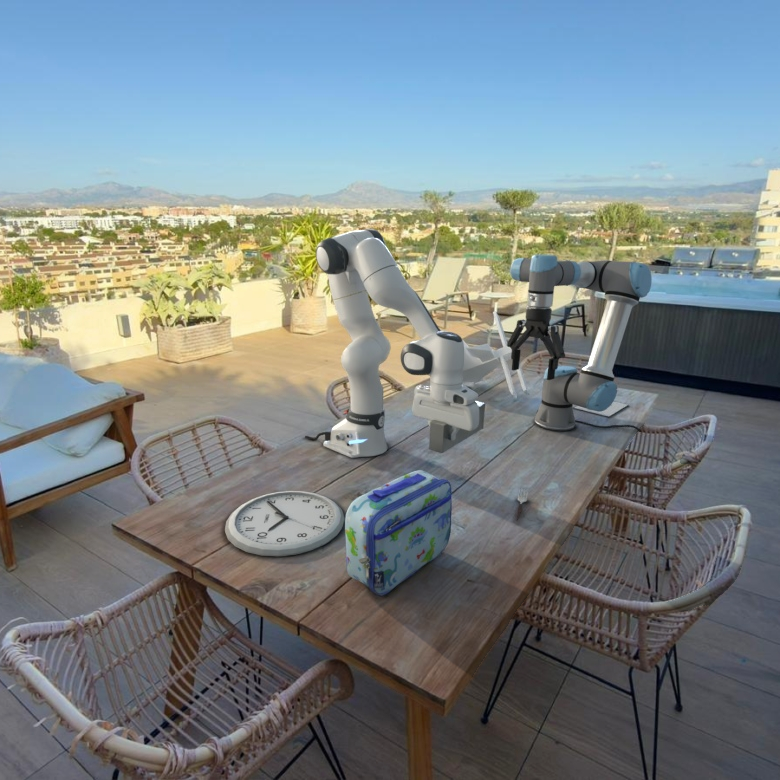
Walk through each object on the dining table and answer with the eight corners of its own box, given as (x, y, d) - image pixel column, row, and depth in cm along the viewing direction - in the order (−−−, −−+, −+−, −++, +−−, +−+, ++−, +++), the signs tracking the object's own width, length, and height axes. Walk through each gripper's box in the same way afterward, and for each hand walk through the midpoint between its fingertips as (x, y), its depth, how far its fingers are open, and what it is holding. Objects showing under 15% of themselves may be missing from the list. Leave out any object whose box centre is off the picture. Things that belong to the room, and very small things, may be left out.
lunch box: (373, 608, 104) (374, 515, 98) (339, 582, 112) (337, 495, 105) (455, 554, 122) (460, 473, 116) (421, 535, 129) (424, 458, 123)
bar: (470, 425, 167) (472, 400, 164) (483, 428, 164) (485, 403, 162) (428, 449, 148) (430, 421, 146) (442, 453, 146) (443, 425, 143)
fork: (511, 521, 136) (512, 514, 136) (519, 493, 150) (519, 487, 150) (521, 523, 135) (522, 516, 135) (528, 495, 150) (528, 489, 149)
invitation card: (608, 416, 214) (573, 407, 224) (608, 416, 214) (573, 408, 224) (628, 404, 229) (594, 396, 238) (628, 405, 229) (594, 397, 238)
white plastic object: (461, 429, 252) (437, 405, 227) (444, 352, 274) (420, 323, 250) (535, 404, 240) (518, 377, 215) (510, 326, 262) (492, 293, 237)
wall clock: (344, 547, 121) (211, 552, 118) (344, 554, 121) (212, 558, 119) (344, 486, 149) (237, 489, 147) (344, 491, 150) (237, 494, 147)
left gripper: (408, 385, 148) (406, 431, 152) (472, 401, 136) (468, 449, 141) (420, 381, 153) (419, 425, 157) (483, 395, 141) (480, 442, 145)
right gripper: (499, 303, 166) (494, 367, 172) (567, 313, 148) (559, 385, 154) (514, 301, 171) (509, 364, 177) (582, 311, 152) (573, 381, 158)
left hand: (443, 437), depth 149 cm, fingers closed on bar, 4 cm apart
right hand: (532, 374), depth 165 cm, fingers open, 13 cm apart
